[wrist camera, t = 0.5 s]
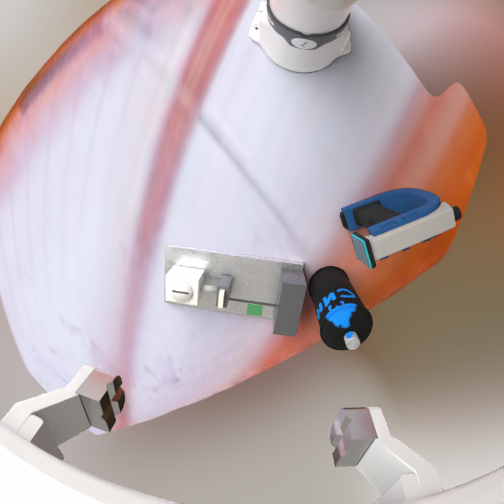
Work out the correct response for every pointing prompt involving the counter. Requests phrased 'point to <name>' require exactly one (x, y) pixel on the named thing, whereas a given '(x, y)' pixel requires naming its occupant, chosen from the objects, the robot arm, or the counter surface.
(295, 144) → the counter surface
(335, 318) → the black water bottle
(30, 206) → the counter surface
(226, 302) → the block
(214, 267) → the base
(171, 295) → the gauge body
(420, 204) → the handheld scanner
